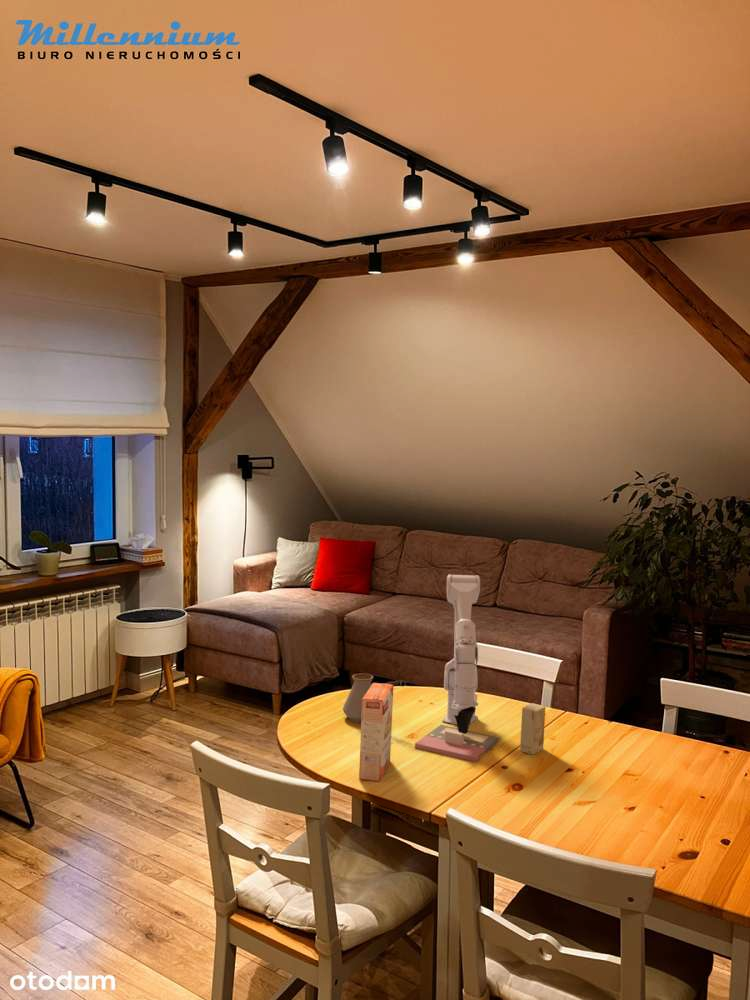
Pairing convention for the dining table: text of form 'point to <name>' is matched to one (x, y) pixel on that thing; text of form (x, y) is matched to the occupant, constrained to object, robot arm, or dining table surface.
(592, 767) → the dining table surface
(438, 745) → the pink board with handle
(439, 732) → the ticket
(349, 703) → the coffee pot
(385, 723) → the cracker box
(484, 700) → the dining table surface
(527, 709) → the skincare box
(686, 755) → the dining table surface
